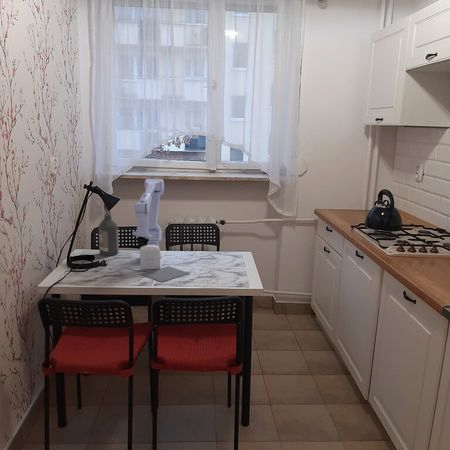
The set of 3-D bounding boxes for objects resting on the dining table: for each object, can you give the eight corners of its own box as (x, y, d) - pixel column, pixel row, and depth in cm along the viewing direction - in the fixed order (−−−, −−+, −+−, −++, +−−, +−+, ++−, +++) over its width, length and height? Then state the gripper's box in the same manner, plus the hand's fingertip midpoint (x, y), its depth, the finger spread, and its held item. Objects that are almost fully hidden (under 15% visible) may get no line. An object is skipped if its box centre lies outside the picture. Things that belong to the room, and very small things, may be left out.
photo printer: (160, 266, 230) (159, 243, 228) (160, 269, 226) (159, 245, 223) (140, 268, 228) (139, 244, 226) (140, 270, 224) (139, 246, 222)
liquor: (112, 250, 259) (111, 200, 253) (120, 254, 253) (118, 202, 246) (98, 253, 254) (96, 201, 247) (105, 256, 247) (103, 204, 241)
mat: (140, 274, 218) (140, 273, 218) (168, 266, 231) (168, 266, 231) (161, 282, 208) (161, 281, 208) (189, 273, 221) (189, 272, 221)
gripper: (127, 224, 228) (128, 249, 231) (145, 228, 219) (145, 255, 221) (138, 222, 233) (139, 247, 236) (156, 226, 224) (156, 252, 227)
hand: (143, 251), depth 229 cm, fingers closed
